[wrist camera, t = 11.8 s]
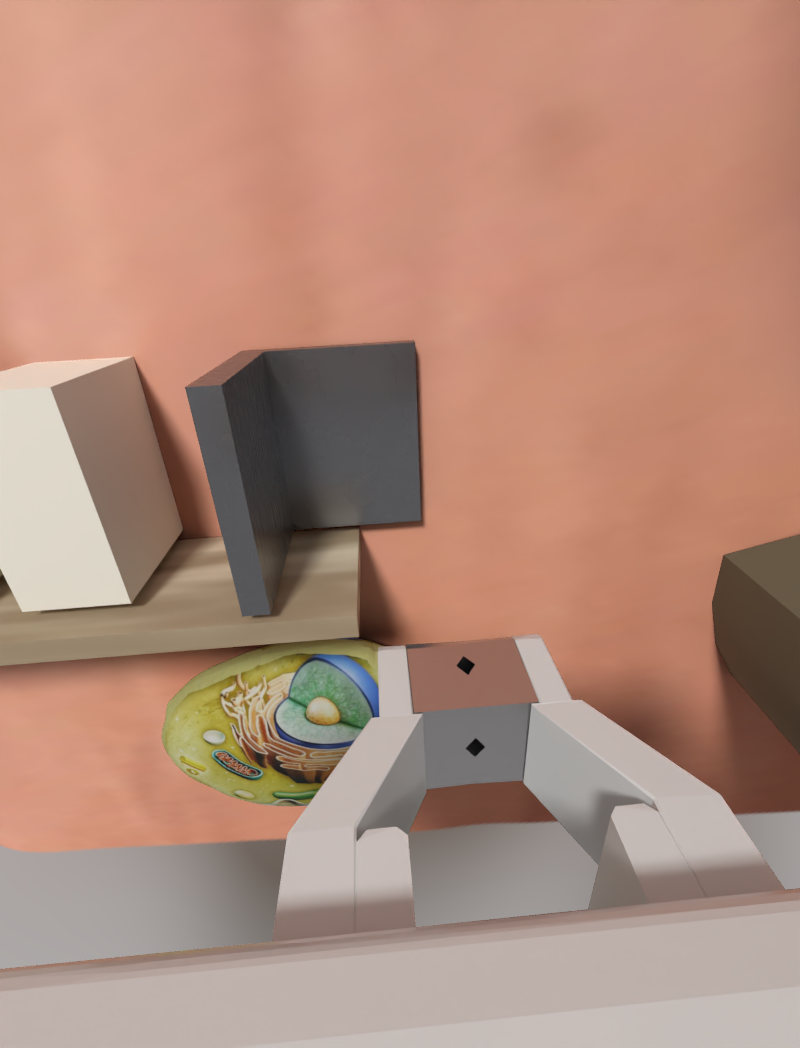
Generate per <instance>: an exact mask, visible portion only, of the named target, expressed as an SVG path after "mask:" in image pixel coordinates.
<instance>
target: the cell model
mask: <svg viewBox="0 0 800 1048" xmlns="http://www.w3.org/2000/svg"><path fill="white" fill-rule="evenodd" d="M378 647H385V646H382V645H379V644H376V643H374V642H370V641H367V640H363V639H358V638H352V637H350V638H338V639H326V640H313V641H301V642H288V643H278V644H273V645H269V646H265V647H262V648H259V649H255V650H252V651H249V652H246V653H244V654H241V655H239V656H236V657H234V658H232V659H229V660H227V661H225V662H222V663H220V664H218V665H215V666H213V667H211V668H209V669H207V670H205V671H203V672H201V673H200V674H198V675H197V676H195V677H194V678H193V679H191V680H190V681H189V682H188V683H187V684H186V685H185V686H184V687H183V688H182V689H180V691H179V692H178V693H177V694H176V695H175V696H174V697H173V698H172V699H171V700H170V701H169V702H168V705H167V709H166V718H165V723H164V726H163V729H162V741H163V745H164V747H165V749H166V751H167V753H168V755H169V756H170V757H171V759H172V760H173V761H174V763H175V764H176V765H177V766H178V767H179V768H180V769H181V770H182V771H183V772H184V773H186V774H187V775H188V776H190V777H191V778H193V779H195V780H197V781H198V782H200V783H203V784H205V785H207V786H210V787H212V788H214V789H216V790H218V791H220V792H222V793H224V794H226V795H229V796H231V797H235V798H238V799H241V800H245V801H249V802H253V803H258V804H264V805H274V806H307V805H309V803H310V802H311V801H312V799H313V798H314V796H315V795H316V794H317V792H318V791H319V790H320V788H321V787H322V785H323V784H324V783H325V781H326V780H327V778H328V777H329V776H330V774H331V773H332V771H333V770H334V769H335V767H336V766H337V765H338V763H339V762H340V760H341V759H342V758H343V756H344V755H345V753H346V752H347V751H348V749H349V748H350V747H351V745H352V744H353V742H354V741H355V740H356V738H357V737H358V735H359V734H360V733H361V731H362V730H363V728H364V727H365V726H366V724H367V723H368V722H369V720H370V719H371V718H375V717H379V685H378Z"/></svg>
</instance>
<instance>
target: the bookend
mask: <svg viewBox="0 0 800 1048" xmlns="http://www.w3.org/2000/svg"><path fill="white" fill-rule="evenodd" d="M185 389H186V393H187V397H188V401H189V405H190V409H191V413H192V417H193V421H194V425H195V429H196V433H197V437H198V441H199V445H200V449H201V453H202V457H203V461H204V465H205V469H206V473H207V477H208V481H209V485H210V489H211V493H212V497H213V501H214V505H215V509H216V513H217V517H218V521H219V525H220V529H221V533H222V537H223V541H224V545H225V549H226V553H227V557H228V561H229V565H230V569H231V573H232V577H233V581H234V585H235V589H236V593H237V597H238V601H239V605H240V609H241V613H242V617H244V616H256V615H269V614H271V611H272V608H273V604H274V601H275V597H276V593H277V590H278V586H279V583H280V579H281V575H282V572H283V568H284V565H285V561H286V557H287V554H288V550H289V547H290V543H291V539H292V536H293V532H294V530H299V529H312V528H326V527H340V526H353V525H367V524H380V523H394V522H408V521H421V505H420V476H419V447H418V418H417V389H416V360H415V342H414V340H412V341H396V342H380V343H363V344H347V345H331V346H315V347H299V348H282V349H266V350H250V351H241V352H239V353H238V354H236V355H235V356H233V357H232V358H230V359H228V360H227V361H225V362H224V363H222V364H221V365H219V366H218V367H216V368H214V369H213V370H211V371H210V372H208V373H207V374H205V375H203V376H202V377H200V378H199V379H197V380H196V381H194V382H193V383H191V384H189V385H188V386H186V387H185Z"/></svg>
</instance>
